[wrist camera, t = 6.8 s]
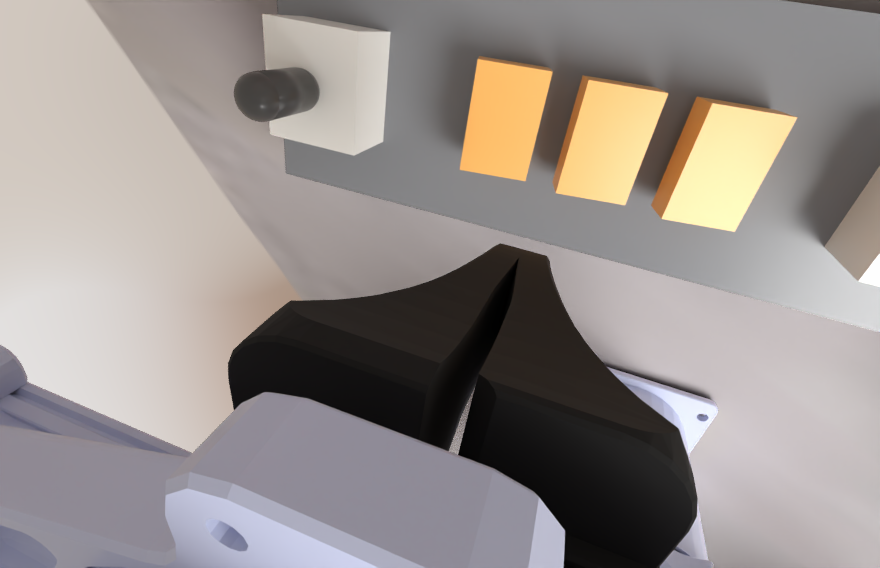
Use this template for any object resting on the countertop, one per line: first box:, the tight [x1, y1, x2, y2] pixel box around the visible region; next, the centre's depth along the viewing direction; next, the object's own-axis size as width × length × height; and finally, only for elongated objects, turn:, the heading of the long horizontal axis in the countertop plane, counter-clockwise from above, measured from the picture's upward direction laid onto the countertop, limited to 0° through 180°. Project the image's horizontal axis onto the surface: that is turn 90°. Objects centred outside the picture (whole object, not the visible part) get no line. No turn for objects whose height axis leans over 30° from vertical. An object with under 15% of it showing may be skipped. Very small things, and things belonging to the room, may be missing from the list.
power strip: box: [277, 0, 880, 333], centre depth 17 cm, size 9×26×4 cm, turn 83°
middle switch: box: [552, 75, 668, 205], centre depth 15 cm, size 4×2×1 cm, turn 173°
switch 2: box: [651, 97, 798, 232], centre depth 14 cm, size 4×2×1 cm, turn 173°
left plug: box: [234, 14, 391, 156], centre depth 15 cm, size 4×4×6 cm
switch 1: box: [460, 56, 553, 181], centre depth 15 cm, size 4×2×1 cm, turn 173°
